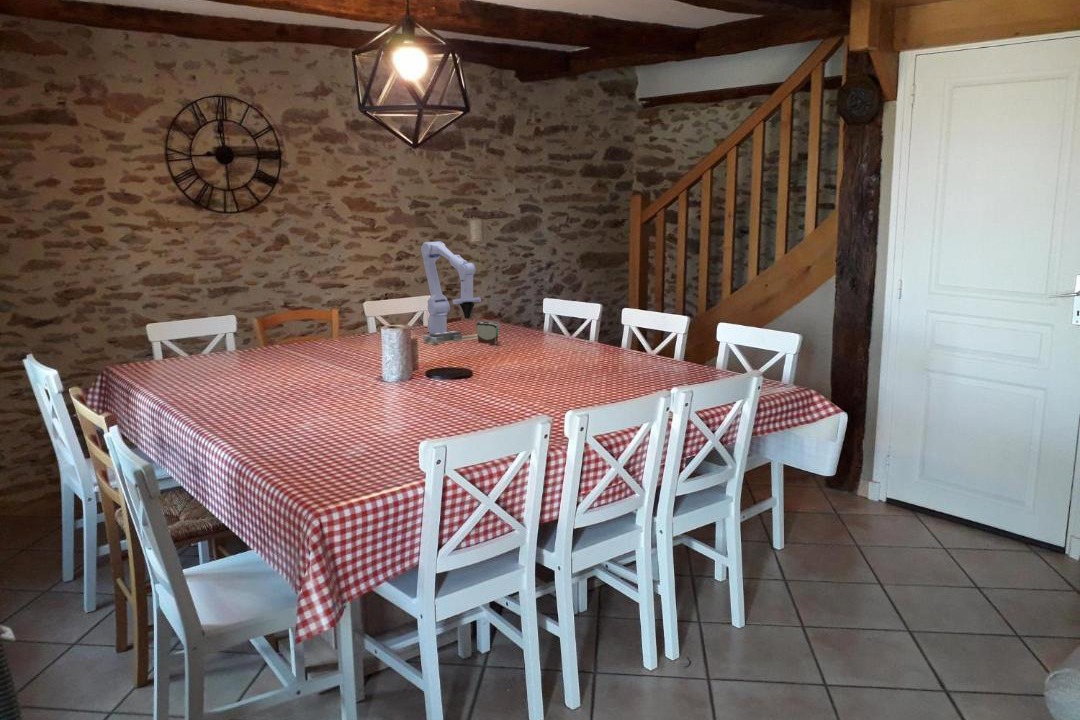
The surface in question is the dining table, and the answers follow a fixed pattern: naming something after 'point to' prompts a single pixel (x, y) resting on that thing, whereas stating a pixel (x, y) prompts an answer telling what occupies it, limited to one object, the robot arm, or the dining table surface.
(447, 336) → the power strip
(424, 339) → the mount
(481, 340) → the food container
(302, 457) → the dining table surface
